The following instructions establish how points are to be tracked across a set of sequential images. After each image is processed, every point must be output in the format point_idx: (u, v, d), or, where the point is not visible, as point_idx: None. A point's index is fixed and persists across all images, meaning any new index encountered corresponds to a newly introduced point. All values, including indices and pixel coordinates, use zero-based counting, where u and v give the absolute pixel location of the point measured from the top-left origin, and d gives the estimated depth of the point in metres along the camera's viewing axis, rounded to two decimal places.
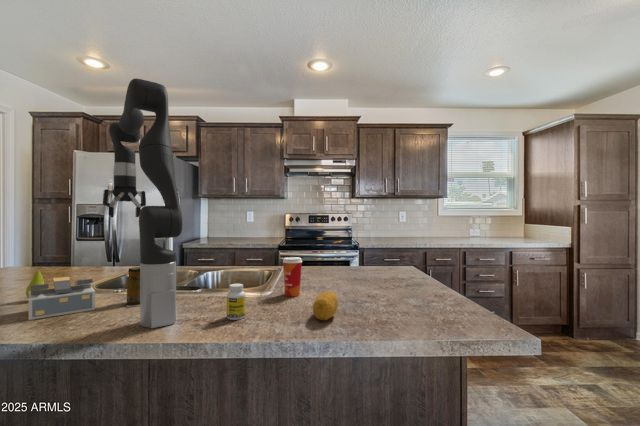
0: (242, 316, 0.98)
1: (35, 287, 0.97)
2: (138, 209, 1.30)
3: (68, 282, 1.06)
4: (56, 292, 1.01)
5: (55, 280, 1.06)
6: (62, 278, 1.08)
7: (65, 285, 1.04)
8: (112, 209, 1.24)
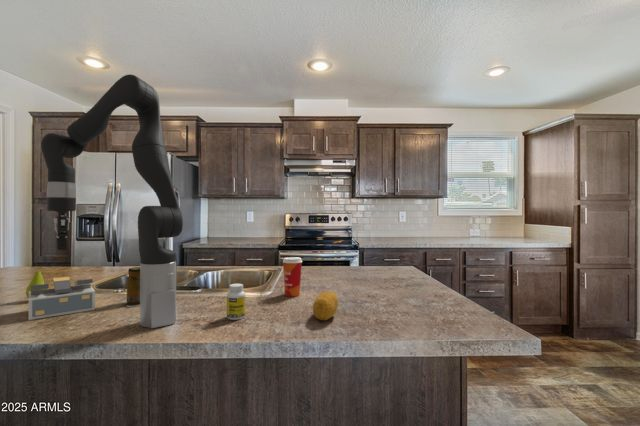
0: (242, 316, 0.98)
1: (35, 287, 0.97)
2: None
3: (68, 282, 1.06)
4: (56, 292, 1.01)
5: (55, 280, 1.06)
6: (62, 278, 1.08)
7: (65, 285, 1.04)
8: None
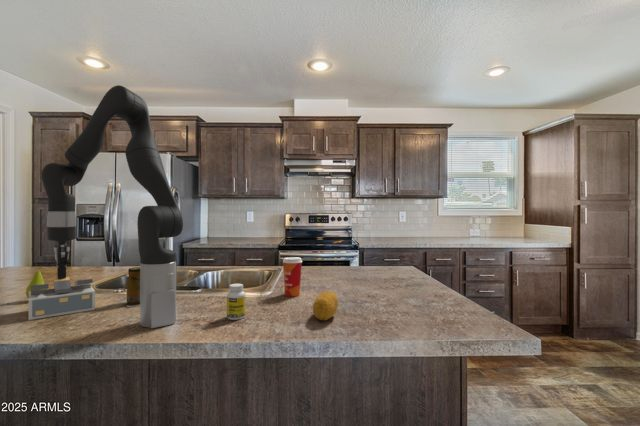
0: (242, 316, 0.98)
1: (35, 287, 0.97)
2: None
3: (68, 282, 1.06)
4: (56, 292, 1.01)
5: (55, 280, 1.06)
6: None
7: (65, 285, 1.04)
8: None
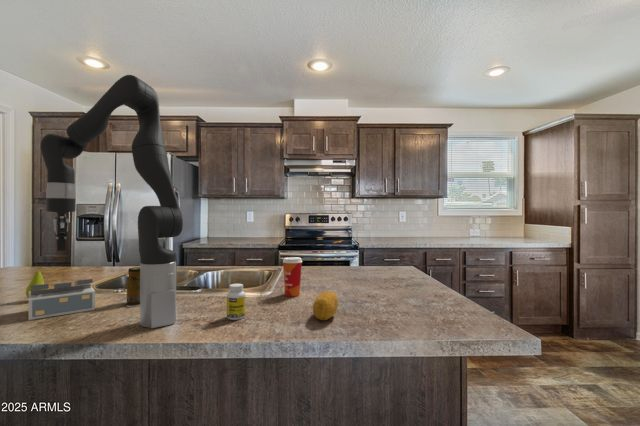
0: (242, 316, 0.98)
1: (35, 287, 0.97)
2: None
3: None
4: (56, 286, 1.01)
5: None
6: None
7: (65, 282, 1.04)
8: (65, 241, 1.08)
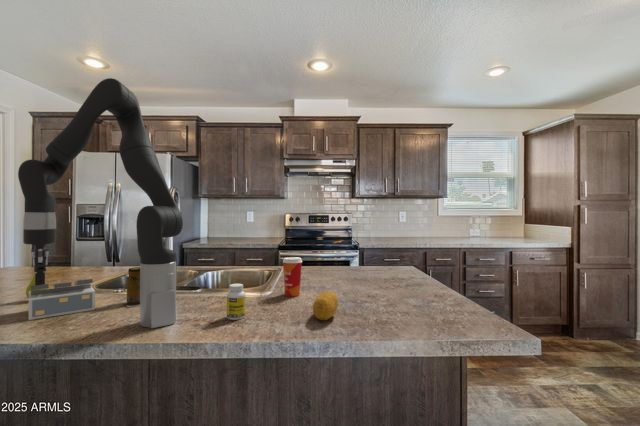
0: (242, 316, 0.98)
1: (35, 287, 0.97)
2: None
3: None
4: (56, 286, 1.01)
5: (55, 283, 1.06)
6: None
7: (65, 282, 1.04)
8: (44, 275, 1.00)
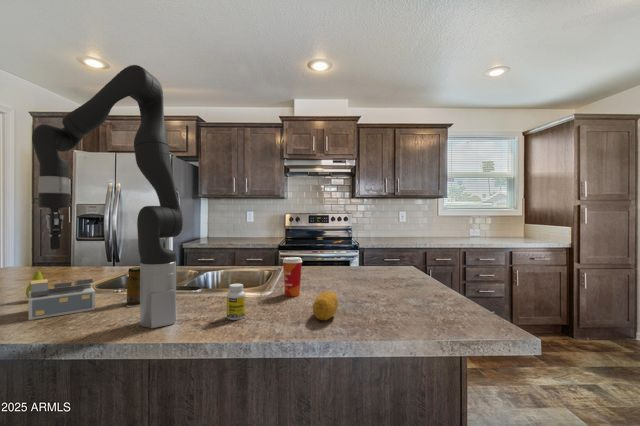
0: (242, 316, 0.98)
1: (35, 294, 0.97)
2: None
3: None
4: (56, 286, 1.01)
5: (55, 283, 1.06)
6: None
7: (65, 282, 1.04)
8: (59, 239, 1.01)
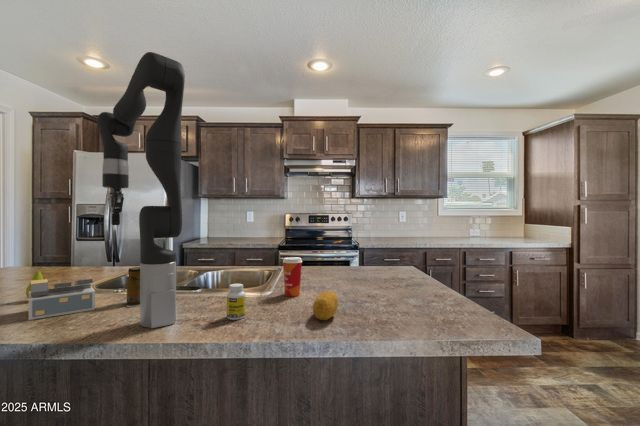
0: (242, 316, 0.98)
1: (35, 294, 0.97)
2: None
3: None
4: (56, 286, 1.01)
5: (55, 283, 1.06)
6: None
7: (65, 282, 1.04)
8: (119, 216, 1.12)
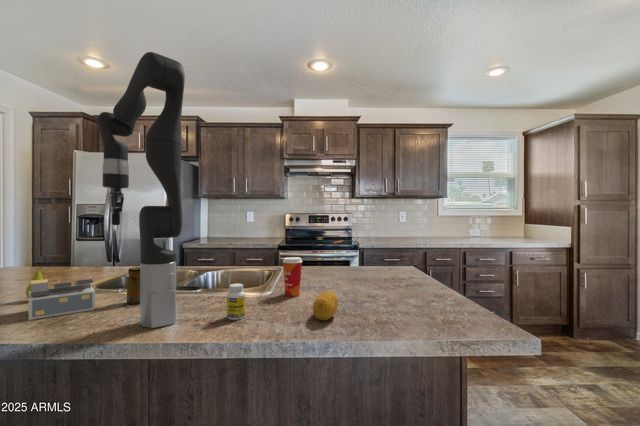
0: (242, 316, 0.98)
1: (35, 294, 0.97)
2: None
3: None
4: (56, 286, 1.01)
5: (55, 283, 1.06)
6: None
7: (65, 282, 1.04)
8: (119, 216, 1.12)
